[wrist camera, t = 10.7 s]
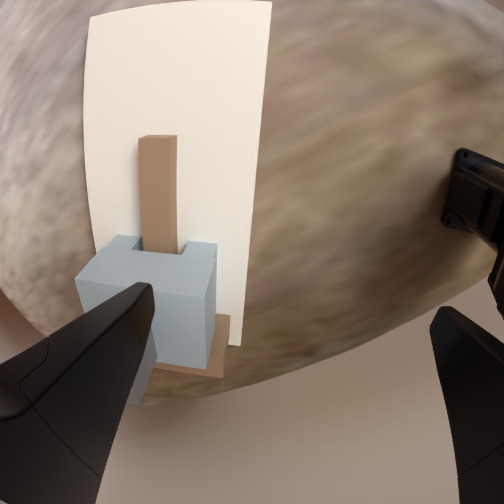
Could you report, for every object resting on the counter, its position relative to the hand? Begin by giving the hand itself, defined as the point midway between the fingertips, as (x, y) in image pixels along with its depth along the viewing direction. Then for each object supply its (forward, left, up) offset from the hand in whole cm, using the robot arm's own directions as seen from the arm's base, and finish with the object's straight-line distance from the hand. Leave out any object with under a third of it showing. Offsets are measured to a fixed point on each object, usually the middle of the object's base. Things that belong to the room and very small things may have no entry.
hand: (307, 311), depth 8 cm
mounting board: (+8, +1, -13) cm, 15 cm away
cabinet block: (+8, +7, -12) cm, 16 cm away
